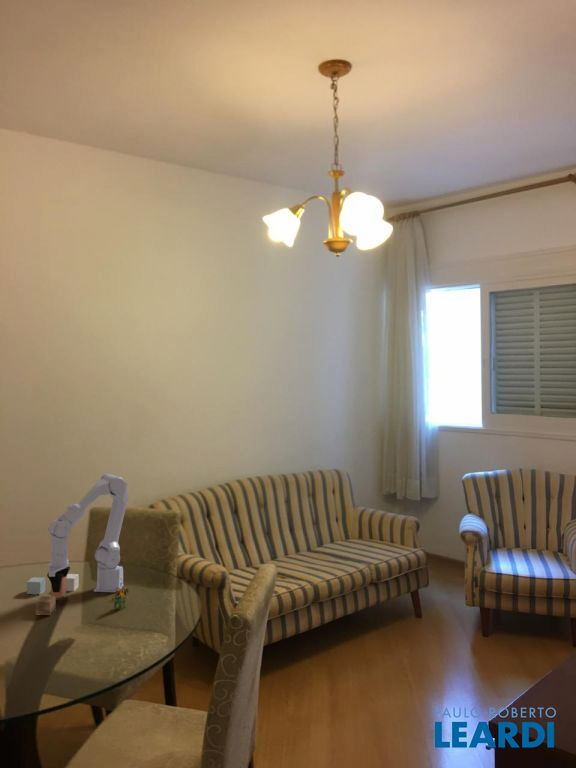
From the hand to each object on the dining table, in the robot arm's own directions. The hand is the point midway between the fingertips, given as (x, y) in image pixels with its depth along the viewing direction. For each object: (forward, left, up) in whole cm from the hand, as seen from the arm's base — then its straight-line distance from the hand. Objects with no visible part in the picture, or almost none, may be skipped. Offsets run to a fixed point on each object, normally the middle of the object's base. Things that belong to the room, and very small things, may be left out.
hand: (58, 589), depth 235 cm
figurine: (-24, +7, -4) cm, 25 cm away
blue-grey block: (+11, -7, -4) cm, 14 cm away
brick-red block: (0, 0, -2) cm, 2 cm away
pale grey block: (0, -12, -4) cm, 13 cm away
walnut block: (0, +12, -4) cm, 13 cm away
